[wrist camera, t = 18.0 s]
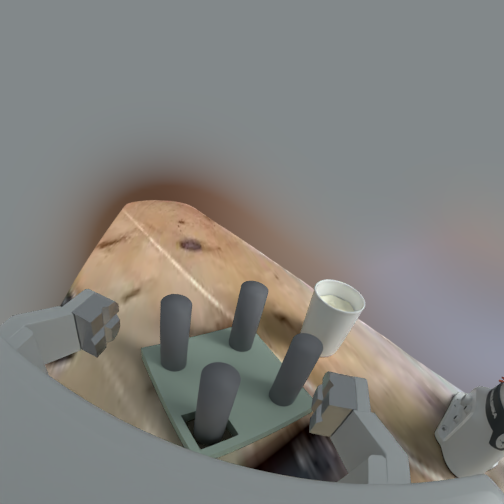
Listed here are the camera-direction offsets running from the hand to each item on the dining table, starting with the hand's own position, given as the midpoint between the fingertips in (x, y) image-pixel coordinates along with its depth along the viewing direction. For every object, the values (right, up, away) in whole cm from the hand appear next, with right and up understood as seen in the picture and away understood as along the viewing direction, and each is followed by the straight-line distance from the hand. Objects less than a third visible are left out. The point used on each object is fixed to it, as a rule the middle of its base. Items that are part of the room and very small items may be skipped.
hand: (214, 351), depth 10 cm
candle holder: (+14, -15, +44) cm, 49 cm away
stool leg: (-5, -21, +23) cm, 31 cm away
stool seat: (-3, -17, +31) cm, 35 cm away
